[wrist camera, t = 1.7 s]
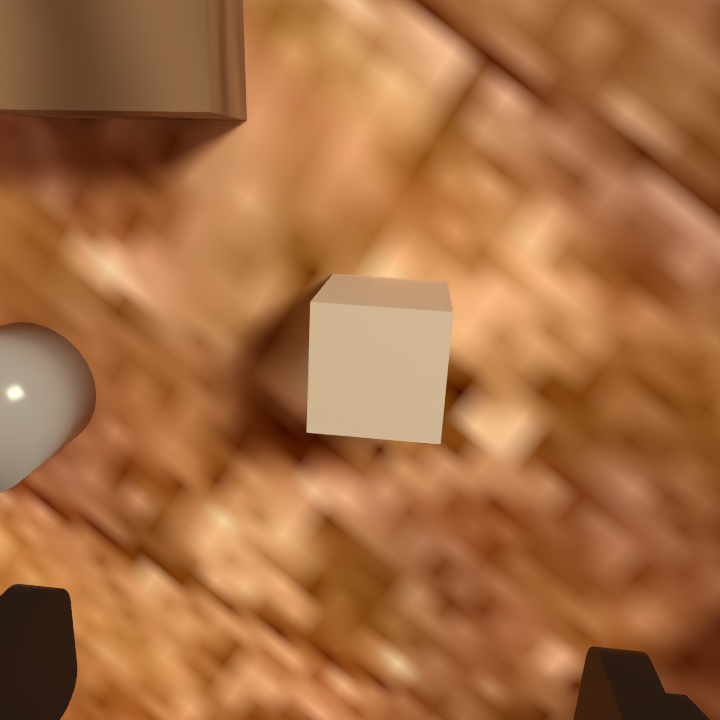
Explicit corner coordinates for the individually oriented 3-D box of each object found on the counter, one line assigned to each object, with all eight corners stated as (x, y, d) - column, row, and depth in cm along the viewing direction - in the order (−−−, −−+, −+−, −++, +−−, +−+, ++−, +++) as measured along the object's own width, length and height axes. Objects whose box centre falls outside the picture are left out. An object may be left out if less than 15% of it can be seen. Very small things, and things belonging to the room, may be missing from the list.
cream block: (447, 281, 28) (453, 311, 22) (436, 389, 29) (440, 444, 24) (332, 273, 28) (310, 301, 22) (328, 380, 30) (306, 432, 24)
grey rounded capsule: (91, 327, 30) (28, 358, 25) (100, 451, 32) (44, 502, 27) (-39, 317, 30) (-124, 346, 26) (-22, 440, 32) (-98, 488, 28)
